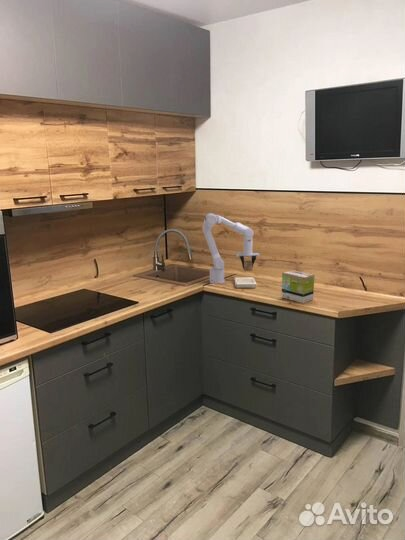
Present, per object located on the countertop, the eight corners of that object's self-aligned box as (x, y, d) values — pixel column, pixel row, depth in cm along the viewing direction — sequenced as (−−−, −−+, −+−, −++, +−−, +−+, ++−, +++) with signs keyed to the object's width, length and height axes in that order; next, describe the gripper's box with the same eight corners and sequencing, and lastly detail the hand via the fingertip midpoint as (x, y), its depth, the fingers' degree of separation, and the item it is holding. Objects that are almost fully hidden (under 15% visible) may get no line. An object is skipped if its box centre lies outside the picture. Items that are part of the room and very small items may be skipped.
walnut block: (244, 270, 292) (244, 263, 291) (243, 268, 300) (243, 260, 299) (252, 270, 292) (252, 263, 291) (250, 268, 300) (250, 260, 299)
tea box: (280, 298, 259) (281, 272, 256) (291, 294, 266) (292, 269, 263) (303, 303, 249) (304, 276, 245) (313, 300, 255) (315, 273, 252)
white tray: (236, 289, 277) (236, 284, 276) (234, 282, 294) (234, 277, 293) (256, 289, 277) (256, 283, 276) (253, 282, 294) (253, 277, 293)
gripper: (237, 247, 289) (236, 269, 292) (260, 247, 289) (259, 268, 292) (236, 246, 296) (235, 266, 299) (258, 245, 296) (258, 266, 299)
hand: (247, 267), depth 296 cm, fingers closed on walnut block, 5 cm apart
